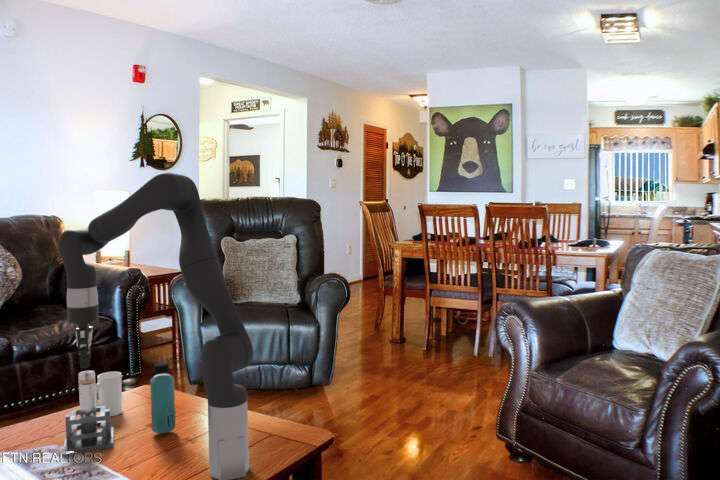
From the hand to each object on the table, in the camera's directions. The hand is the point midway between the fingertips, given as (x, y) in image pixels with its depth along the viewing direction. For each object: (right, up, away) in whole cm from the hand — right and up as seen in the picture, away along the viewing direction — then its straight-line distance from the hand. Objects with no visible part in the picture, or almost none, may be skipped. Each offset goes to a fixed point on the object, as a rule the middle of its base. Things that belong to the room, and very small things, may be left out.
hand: (85, 363), depth 156 cm
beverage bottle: (+19, -21, +7) cm, 29 cm away
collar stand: (0, -22, +2) cm, 22 cm away
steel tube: (0, -20, +1) cm, 20 cm away
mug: (-4, -20, +22) cm, 30 cm away
